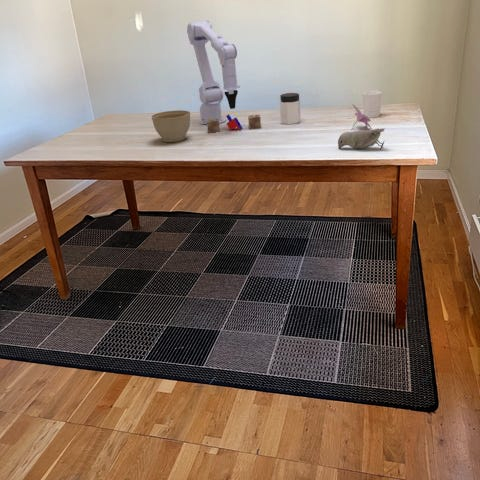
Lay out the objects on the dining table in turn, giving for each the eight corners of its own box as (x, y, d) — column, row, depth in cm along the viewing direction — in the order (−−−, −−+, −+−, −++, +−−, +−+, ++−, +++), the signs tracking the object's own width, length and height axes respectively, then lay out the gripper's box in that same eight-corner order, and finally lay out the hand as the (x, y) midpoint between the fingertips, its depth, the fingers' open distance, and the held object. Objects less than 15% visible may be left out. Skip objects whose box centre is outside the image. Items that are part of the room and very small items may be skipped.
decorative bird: (339, 146, 181) (339, 126, 178) (385, 147, 176) (386, 126, 172) (336, 151, 177) (336, 130, 173) (383, 151, 171) (384, 130, 168)
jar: (304, 121, 220) (303, 93, 215) (291, 125, 216) (290, 97, 211) (290, 119, 227) (289, 92, 222) (277, 122, 222) (275, 95, 217)
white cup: (358, 116, 220) (359, 93, 216) (373, 113, 223) (373, 90, 218) (370, 119, 214) (370, 95, 209) (384, 115, 216) (385, 92, 212)
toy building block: (234, 132, 221) (225, 116, 219) (242, 127, 219) (232, 111, 217) (232, 134, 218) (222, 118, 216) (240, 129, 216) (230, 113, 214)
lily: (368, 136, 193) (379, 112, 191) (340, 124, 195) (351, 101, 193) (367, 137, 205) (377, 115, 203) (341, 127, 207) (351, 104, 205)
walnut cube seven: (208, 133, 216) (206, 121, 214) (208, 130, 221) (207, 119, 219) (219, 132, 216) (218, 120, 214) (219, 129, 221) (218, 118, 219)
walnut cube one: (249, 129, 216) (248, 117, 214) (249, 127, 221) (248, 115, 218) (261, 128, 216) (260, 116, 214) (260, 125, 221) (259, 114, 218)
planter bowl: (187, 144, 203) (183, 117, 198) (150, 145, 206) (145, 119, 202) (197, 134, 217) (194, 109, 212) (163, 135, 220) (159, 110, 216)
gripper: (239, 77, 202) (242, 110, 208) (238, 72, 215) (241, 104, 221) (222, 78, 202) (225, 112, 208) (222, 74, 215) (225, 105, 221)
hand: (232, 108), depth 214 cm, fingers closed
